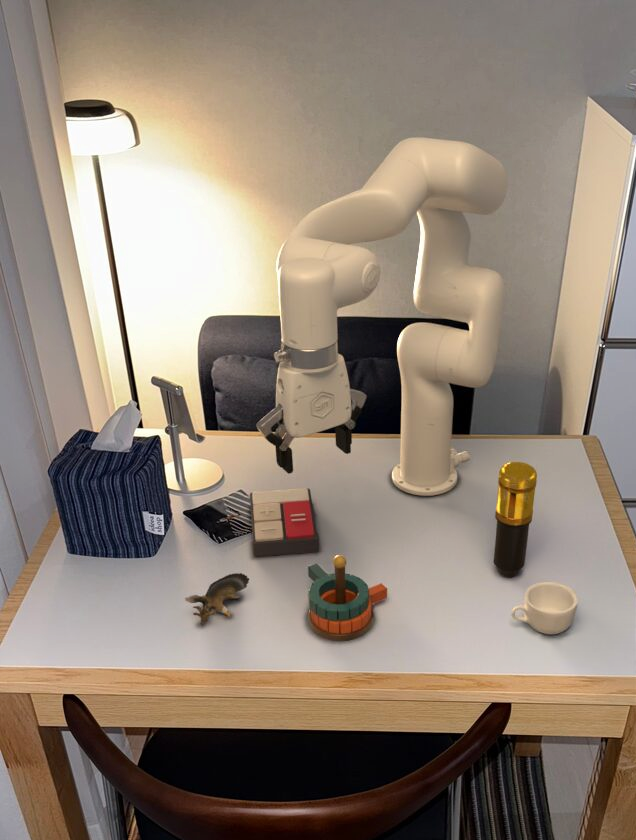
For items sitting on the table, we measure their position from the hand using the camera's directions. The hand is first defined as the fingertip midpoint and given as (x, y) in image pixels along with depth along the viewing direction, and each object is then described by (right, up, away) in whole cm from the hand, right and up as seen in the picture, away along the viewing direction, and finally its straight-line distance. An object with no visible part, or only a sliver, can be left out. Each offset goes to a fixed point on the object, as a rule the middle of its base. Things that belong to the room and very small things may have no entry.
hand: (315, 459), depth 132 cm
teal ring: (+2, -21, +9) cm, 23 cm away
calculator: (-7, -12, +29) cm, 32 cm away
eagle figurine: (-16, -24, +11) cm, 30 cm away
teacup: (+34, -26, +7) cm, 43 cm away
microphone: (+35, -18, +19) cm, 44 cm away
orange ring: (+5, -23, +9) cm, 25 cm away
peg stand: (+4, -25, +9) cm, 26 cm away
